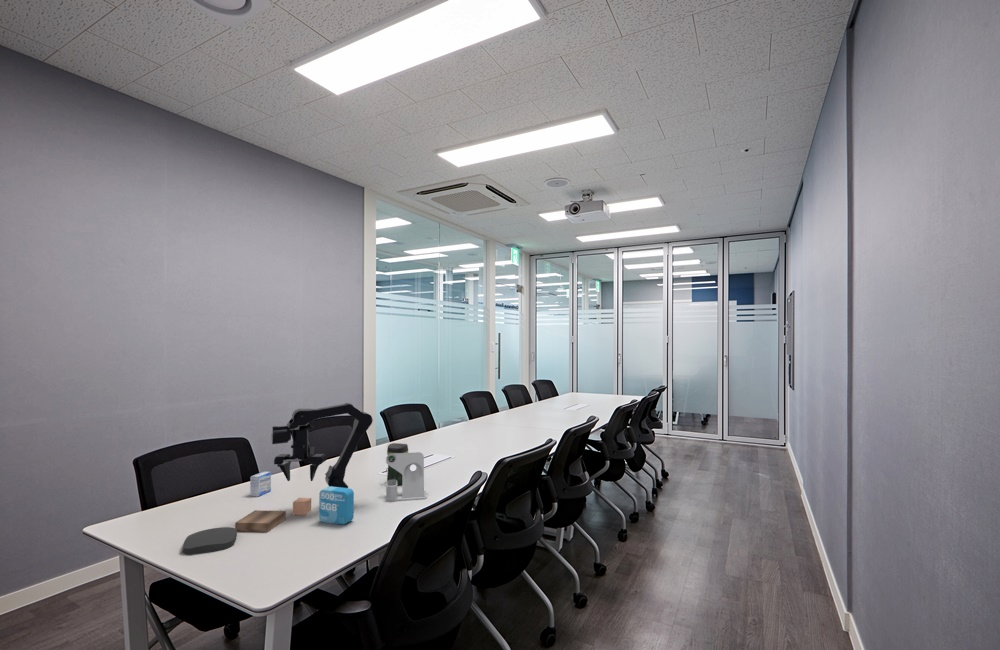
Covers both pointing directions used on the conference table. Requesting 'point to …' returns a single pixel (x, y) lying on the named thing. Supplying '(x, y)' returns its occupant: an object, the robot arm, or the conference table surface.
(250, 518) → the walnut block
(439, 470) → the conference table surface
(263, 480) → the medicine box
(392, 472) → the coffee jar
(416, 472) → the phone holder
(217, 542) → the media streaming box
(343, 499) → the data package
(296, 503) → the terracotta block
